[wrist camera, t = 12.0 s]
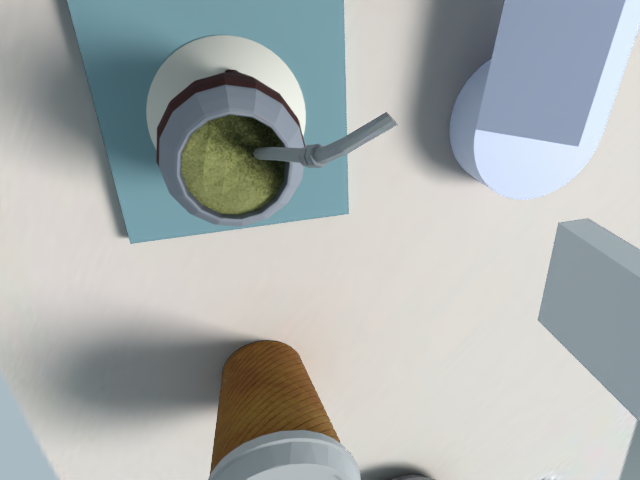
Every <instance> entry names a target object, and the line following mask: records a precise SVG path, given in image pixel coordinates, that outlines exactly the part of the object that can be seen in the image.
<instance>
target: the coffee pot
mask: <svg viewBox="0 0 640 480" xmlns="http://www.w3.org/2000/svg"><path fill="white" fill-rule="evenodd" d="M391 480H434V479H431V478H427V477H424V476H421V475H404V476H400V477H397V478H393V479H391Z"/></svg>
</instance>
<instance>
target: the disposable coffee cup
mask: <svg viewBox="0 0 640 480" xmlns="http://www.w3.org/2000/svg"><path fill="white" fill-rule="evenodd" d="M208 480H361V477H360V470H359V467H358V464H357V463H356V461H355V459H354V458H353V456H352V455H351V453H350V452H348V451H347V450H346V449H345V448H344V446H343V445H342V444H341V443H340V440H339V438H338V436H337V434H336V432H335V430H334V429H333V426H332V424H331V422H330V419H329V417H328V416H327V413H326V411H325V409H324V407H323V405H322V403H321V400H320V398H319V397H318V394H317V392H316V391H315V388H314V386H313V384H312V382H311V380H310V377H309V375H308V374H307V371H306V369H305V367H304V365H303V364H302V360H301V358H300V356H299V355H298V353H297V352H296V351H295V350H294V349H293V348H292V347H290V346H288V345H286V344H284V343H281V342H276V341H260V342H255V343H251V344H249V345H246V346H244V347H242V348H240V349H239V350H237V351H236V352H235V353H234V354H232V356H231V357H230V358H229V359H228V360H227V362H226V364H225V365H224V368H223V372H222V382H221V390H220V397H219V406H218V413H217V422H216V430H215V438H214V446H213V454H212V463H211V471H210V477H209V479H208Z"/></svg>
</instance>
